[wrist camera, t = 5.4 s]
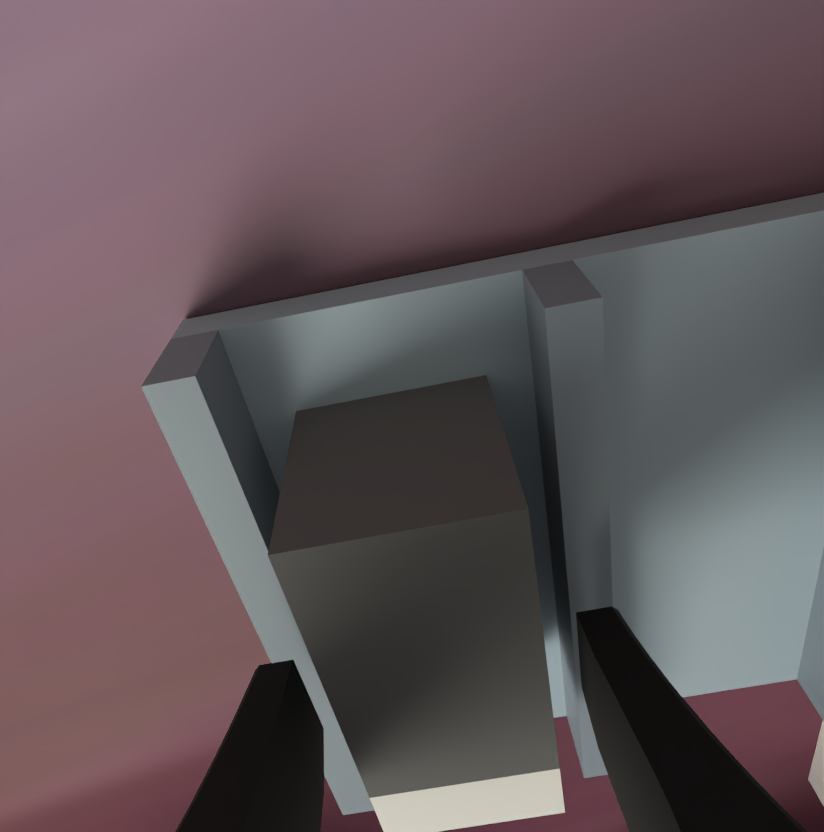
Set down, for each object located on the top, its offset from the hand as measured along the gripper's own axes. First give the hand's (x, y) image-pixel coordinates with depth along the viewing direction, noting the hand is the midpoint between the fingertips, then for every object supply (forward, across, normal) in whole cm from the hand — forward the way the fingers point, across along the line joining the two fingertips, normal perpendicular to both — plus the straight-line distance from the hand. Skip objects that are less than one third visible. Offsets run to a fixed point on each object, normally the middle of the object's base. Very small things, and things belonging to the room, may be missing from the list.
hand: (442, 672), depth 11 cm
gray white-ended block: (+3, 0, 0) cm, 3 cm away
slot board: (+3, -3, 0) cm, 4 cm away
